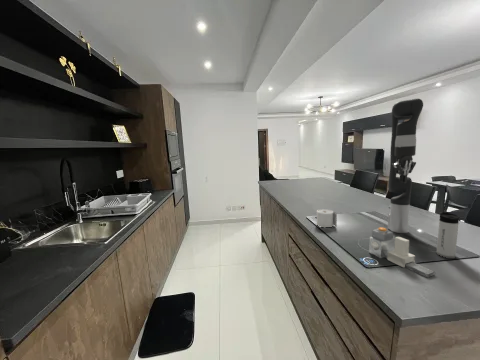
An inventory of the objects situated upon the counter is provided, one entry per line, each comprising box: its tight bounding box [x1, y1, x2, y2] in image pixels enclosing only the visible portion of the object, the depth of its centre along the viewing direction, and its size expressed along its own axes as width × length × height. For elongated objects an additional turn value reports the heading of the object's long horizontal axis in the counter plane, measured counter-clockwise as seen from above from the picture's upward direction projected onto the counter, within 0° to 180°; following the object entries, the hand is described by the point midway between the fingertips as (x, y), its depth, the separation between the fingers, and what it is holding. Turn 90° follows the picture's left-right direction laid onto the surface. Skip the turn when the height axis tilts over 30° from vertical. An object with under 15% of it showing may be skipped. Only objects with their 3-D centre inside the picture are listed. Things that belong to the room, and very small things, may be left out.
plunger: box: [377, 226, 388, 233], centre depth 100 cm, size 3×3×5 cm
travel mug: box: [436, 211, 460, 259], centre depth 96 cm, size 6×7×20 cm
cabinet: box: [368, 228, 395, 259], centre depth 101 cm, size 6×9×12 cm, turn 109°
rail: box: [383, 253, 436, 278], centre depth 91 cm, size 18×4×2 cm, turn 19°
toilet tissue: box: [316, 208, 338, 228], centre depth 140 cm, size 11×12×10 cm
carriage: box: [387, 236, 416, 269], centre depth 93 cm, size 7×7×11 cm
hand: (403, 182), depth 96 cm, fingers closed
